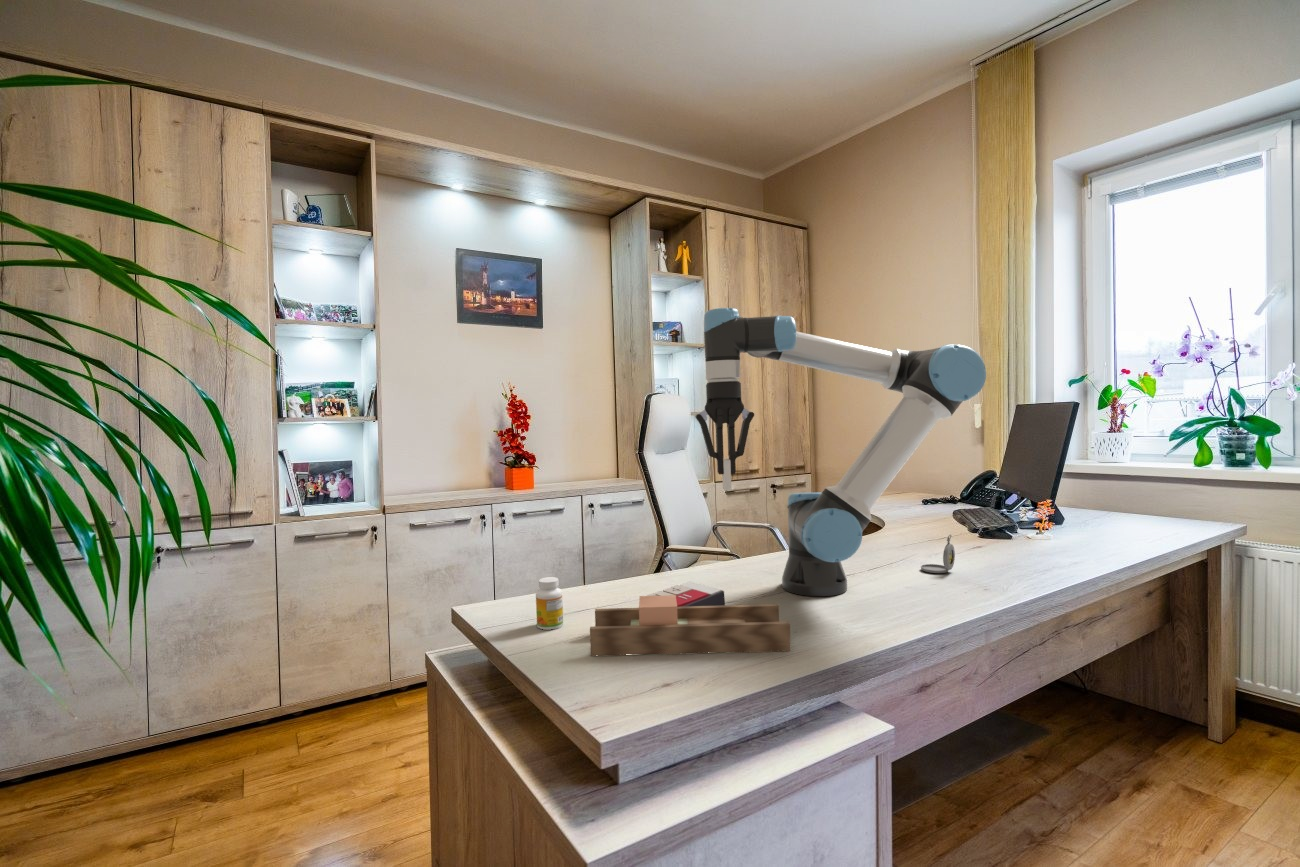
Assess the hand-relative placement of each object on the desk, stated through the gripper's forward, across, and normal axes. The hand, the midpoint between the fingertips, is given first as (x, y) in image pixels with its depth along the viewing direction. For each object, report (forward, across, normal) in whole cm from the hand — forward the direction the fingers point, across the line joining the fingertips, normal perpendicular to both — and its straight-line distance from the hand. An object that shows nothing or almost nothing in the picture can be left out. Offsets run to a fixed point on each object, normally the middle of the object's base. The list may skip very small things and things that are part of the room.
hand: (727, 489), depth 140 cm
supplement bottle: (+26, +39, +8) cm, 47 cm away
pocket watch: (+27, -57, -22) cm, 67 cm away
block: (+23, +17, +20) cm, 35 cm away
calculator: (+27, +10, 0) cm, 29 cm away
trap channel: (+26, +11, +20) cm, 35 cm away
